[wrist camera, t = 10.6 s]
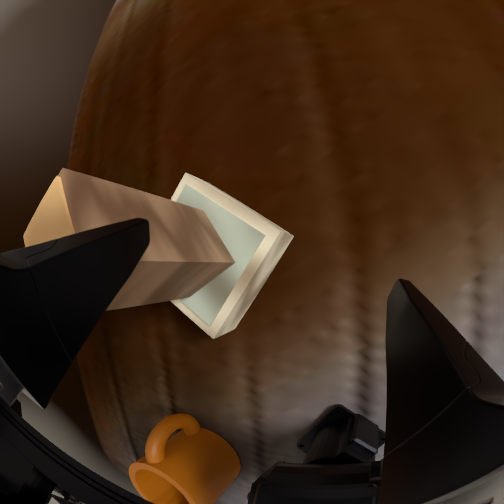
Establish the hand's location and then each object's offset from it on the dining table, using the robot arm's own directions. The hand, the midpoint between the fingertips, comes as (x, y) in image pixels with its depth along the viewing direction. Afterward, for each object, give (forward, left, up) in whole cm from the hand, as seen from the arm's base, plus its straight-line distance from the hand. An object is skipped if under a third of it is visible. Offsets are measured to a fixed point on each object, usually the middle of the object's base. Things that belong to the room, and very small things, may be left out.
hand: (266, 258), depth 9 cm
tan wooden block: (-5, +8, -10) cm, 14 cm away
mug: (-25, -2, -15) cm, 29 cm away
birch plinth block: (-5, +8, -14) cm, 17 cm away
